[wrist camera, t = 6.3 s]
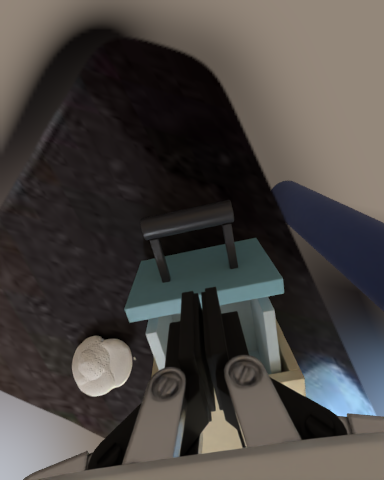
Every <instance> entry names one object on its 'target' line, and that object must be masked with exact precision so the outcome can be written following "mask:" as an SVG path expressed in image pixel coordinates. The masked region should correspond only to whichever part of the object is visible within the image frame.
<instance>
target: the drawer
mask: <svg viewBox="0 0 384 480" xmlns="http://www.w3.org/2000/svg"><path fill="white" fill-rule="evenodd" d="M231 222H234V213H233V208H232V204H231V201H230V200H225V201H220V202H216V203H211V204H206V205H202V206H197V207H193V208H188V209H183V210H179V211H174V212H169V213H165V214H160V215H155V216H151V217H146V218H142V219H141V230H142V233H143V236H144V238H145V239H146V240H150V244H151V247H152V250H153V254H154V257H155V259H150V260H145V261H141V263H140V266H139V269H138V271H137V274H136V277H135V280H134V283H133V286H132V289H131V291H130V294H129V297H128V300H127V303H126V306H125V309H124V310H125V312H126V315H127V317H128V320H129V322H130V323H131V322H136V321H141V320H147V319H149V320H148V325H147V330H146V337H147V339H148V342H149V345H150V347H151V350H152V353H153V356H154V358H155V361H156V364H157V366H158V369H159V370H161V369H163V368H165V360H166V350H167V341H168V332H169V324H170V323H172V322H178V321H180V316H181V297H182V293H183V292H189V291H193V292H194V293H198V295H199V299H200V303H201V307H202V299H201V292H205V288H210V287H215V286H216V289H217V294H218V299H219V303H220V308H221V313H228V312H234V311H237V312H238V315H239V319H240V323H241V327H242V330H243V334H244V338H245V342H246V345H247V349H248V353H249V355H250V356H253V357H255V358H257V359H258V360H260V361H261V363H262V364H263V365H264V367H265V369H266V371H267V373H268V375H269V374H275V373H281V363H280V354H279V346H278V337H277V328H276V319H275V310H274V308H273V306H272V304H271V302H270V300H269V298H268V296H273V295H278V294H283V293H284V284H283V278H282V276H281V275H280V273H279V272H278V270H277V269H276V267H275V266H274V264H273V263H272V261H271V260H270V258H269V257H268V255H267V254H266V252H265V251H264V249H263V248H262V246H261V245H260V243H259V242H258V240H257V239H256V238H252V239H247V240H242V241H238V242H234V237H233V231H232V225H231ZM217 225H222V229H223V235H224V240H225V244H223V245H218V246H213V247H208V248H203V249H199V250H194V251H189V252H184V253H179V254H174V255H169V256H164V252H163V249H162V245H161V242H160V239H159V238H160V237H165V236H169V235H174V234H179V233H184V232H188V231H193V230H198V229H203V228H207V227H212V226H217Z"/></svg>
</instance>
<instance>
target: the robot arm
mask: <svg viewBox="0 0 384 480" xmlns="http://www.w3.org/2000/svg"><path fill="white" fill-rule="evenodd" d="M201 299H202V307H201V303H200V299H199V295H198V293H194V292H193V291H189V292H183V293H182V297H181V316H180V321H178V322H172V323H170V324H169V332H168V341H167V350H166V360H165V368H163V369H161V370H159V371H158V372H156V373H155V374H154V375H153V376H152V377H151V379H150V381H149V383H148V385H147V388H146V391H145V394H144V397H143V401H142V403H141V404H140V405H139V406H138V407H137V408H136V409H135V410H134V411H133V412H132V413H131V414H130V415H129V416H128V417H127V418H126V419H125V420H124V421H123V422H122V423H121V424H120V425H118V426H117V427H116V428H115V429H114V430H113V431H112V432H111V433H110V434H109V435H108V436H107V437H106V438H105V439H104V440H103V441H102V442H101V443H100V444H99V446H98V447H97V448H96V449H95V451H94V452H93V453H90V454H89V453H88V451H86V452H84V453H81V454H79V455H76V456H74V457H71V458H69V459H66V460H64V461H61V462H59V463H56V464H54V465H52V466H49V467H47V468H44V469H42V470H39V471H37V472H34V473H32V474H30V475H29V476H27V477H25V478H24V479H23V480H384V417H381V416H370V415H359V414H347V417H342V416H337V415H335V414H334V413H333V412H331V411H330V410H328V409H327V408H325V407H323V406H321V405H319V404H318V403H316V402H314V401H312V400H310V399H309V398H307V397H305V396H303V395H301V394H300V393H298V392H296V391H294V390H292V389H291V388H289V387H287V386H285V385H283V384H282V383H280V382H278V381H276V380H274V379H273V378H271V377H269V375H268V373H267V371H266V369H265V367H264V365H263V364H262V363H261V361H260V360H258V359H257V358H255V357H253V356H250V355H249V353H248V349H247V345H246V342H245V338H244V334H243V330H242V327H241V323H240V319H239V315H238V312H237V311H234V312H228V313H221V308H220V303H219V299H218V294H217V289H216V286H215V287H210V288H205V292H201ZM214 390H215V394H216V398H217V401H218V405H219V409H220V410H223V412H224V416H225V420H226V421H227V422H228V423H229V424H231V425H232V426H233V427H234V428H236V429H237V432H238V436H239V439H240V443H241V446H242V448H240V449H233V450H225V451H218V452H211V453H204V454H202V447H203V432H202V431H203V430H204V429H205V427H206V426H207V425H208V423H209V422H211V421H212V416H211V412H213V411H216V406H215V395H214Z"/></svg>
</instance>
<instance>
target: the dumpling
mask: <svg viewBox="0 0 384 480" xmlns="http://www.w3.org/2000/svg"><path fill="white" fill-rule="evenodd" d="M133 359H134V360H136V358H135V357H134V358H133ZM131 368H132V354H131V351H130V348H129V347H128V346H127V344H125V343H124V342H123V341H121V340H119V339H106V340H104V339H102V338H101V336H91V337H89V338H87V339H85V340H84V341H83V342H82V343H81V344H80V345H79V346H78V348H77V349H76V351H75V354H74V357H73V361H72V372H73V376H74V379H75V381H76V383H77V385H78V387H79V388H80V390H81V391H82V392H84V393H86V394H87V395H90V396H94V397H95V396H101V395H104V394H106V393H108V392H109V391H110V390H112V389H113V388H115V387H119V386H121V385H123V384H124V383H125V382H126V380H127V379H128V377H129V375H130V372H131Z"/></svg>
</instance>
